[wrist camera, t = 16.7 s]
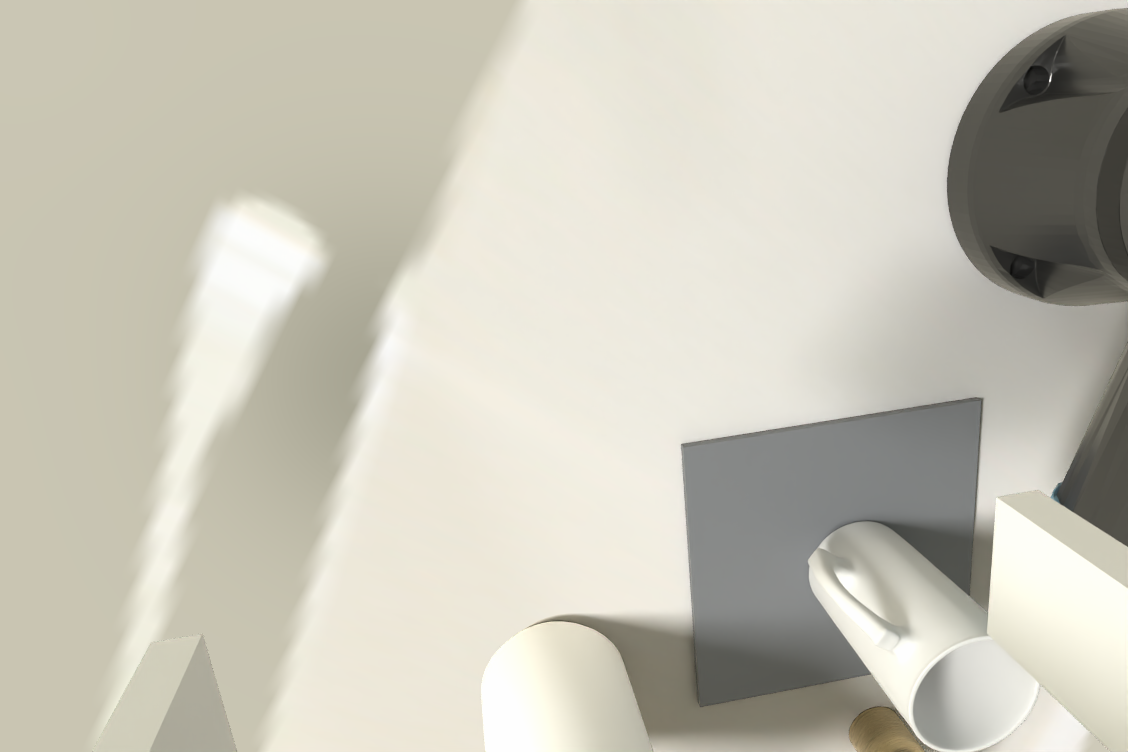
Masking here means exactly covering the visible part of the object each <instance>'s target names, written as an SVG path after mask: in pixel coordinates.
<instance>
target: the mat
mask: <svg viewBox="0 0 1128 752" xmlns="http://www.w3.org/2000/svg"><path fill="white" fill-rule="evenodd" d="M980 414H981V400H980V399H978V398H970V399H964V400H958V401H951V402H945V403H939V404H932V405H926V406H920V407H913V408H907V409H901V410H895V411H888V412H882V413H876V414H869V415H863V416H857V417H850V418H844V419H838V420H831V421H825V422H819V423H812V424H806V425H800V426H794V427H787V428H781V429H775V430H768V431H762V432H756V433H749V434H743V435H737V436H730V437H724V438H718V439H711V440H705V441H699V442H692V443H686V444H681V450H682V465H683V480H684V495H685V511H686V526H687V541H688V556H689V572H690V587H691V602H692V617H693V632H694V648H695V663H696V678H697V693H698V703H699V705H700V707H703V706H708V705H713V704H719V703H724V702H729V701H734V700H739V699H745V698H750V697H755V696H760V695H765V694H771V693H776V692H781V691H786V690H791V689H797V688H802V687H807V686H812V685H817V684H823V683H828V682H833V681H838V680H843V679H849V678H854V677H859V676H864V675H869V674H871V672H870V671H869V670H868V668H867V667H866V666H865V664H864V663H863V661H862V660H861V659H860V657H859V656H858V654H857V653H856V652H855V650H854V649H853V648H852V646H851V645H850V643H849V642H848V641H847V639H846V638H845V637H844V635H843V634H842V633H841V631H840V630H839V628H838V627H837V626H836V624H835V623H834V622H833V620H832V619H831V617H830V616H829V614H828V613H827V612H826V610H825V609H824V607H823V606H822V605H821V603H820V602H819V600H818V599H817V598H816V596H815V595H814V593H813V591H812V589H811V586H810V582H809V567H810V566H809V564H808V559H809V558H810V556H811V555H812V554H813V552H814V551H815V550H816V549H817V548H818V546H819V545H820V544H821V542H822V541H823V540H824V539H825V538H826V537H827V536H828V535H830V534H831V533H832V532H834V531H835V530H837V529H839V528H841V527H843V526H845V525H848V524H851V523H855V522H861V521H871V522H877V523H880V524H883V525H885V526H887V527H889V528H890V529H892V530H893V531H894V532H896V533H897V534H898V535H899V536H900V537H902V538H903V539H904V540H905V541H907V542H908V543H909V544H910V545H911V546H913V547H914V548H915V549H916V550H917V551H918V552H919V553H921V554H922V555H923V556H924V557H925V558H926V559H927V560H928V561H930V562H931V563H932V564H933V565H934V566H935V567H936V568H937V569H939V570H940V571H941V572H942V573H943V574H944V575H945V576H947V577H948V578H949V579H950V580H951V581H952V582H954V583H955V584H956V585H957V586H958V587H959V588H960V589H962V590H963V591H964V592H965V593H966V594H967V595H968V596H969V595H970V578H971V562H972V546H973V529H974V513H975V496H976V480H977V464H978V447H979V431H980Z"/></svg>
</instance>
